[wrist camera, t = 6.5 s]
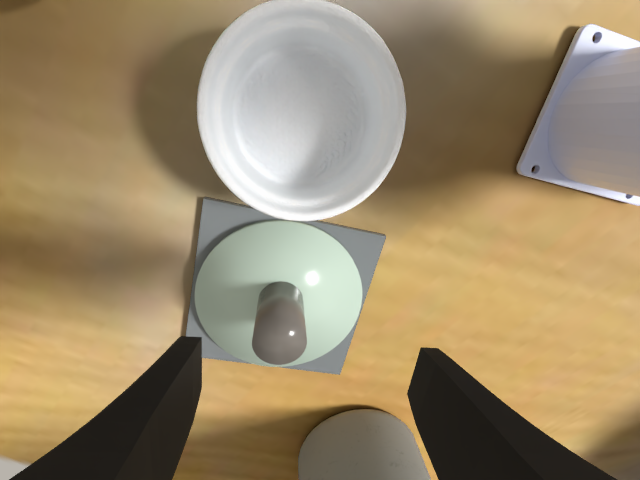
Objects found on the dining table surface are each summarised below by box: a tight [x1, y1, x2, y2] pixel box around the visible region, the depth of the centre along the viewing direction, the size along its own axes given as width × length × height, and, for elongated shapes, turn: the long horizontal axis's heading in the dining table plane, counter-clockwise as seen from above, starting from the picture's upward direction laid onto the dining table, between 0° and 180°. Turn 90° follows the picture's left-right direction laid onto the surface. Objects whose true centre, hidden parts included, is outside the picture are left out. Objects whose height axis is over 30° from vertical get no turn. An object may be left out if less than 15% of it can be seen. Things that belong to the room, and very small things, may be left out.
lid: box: [195, 219, 362, 367], centre depth 19 cm, size 10×10×5 cm
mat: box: [186, 197, 386, 375], centre depth 21 cm, size 11×11×1 cm
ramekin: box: [197, 0, 406, 221], centre depth 16 cm, size 9×9×4 cm
